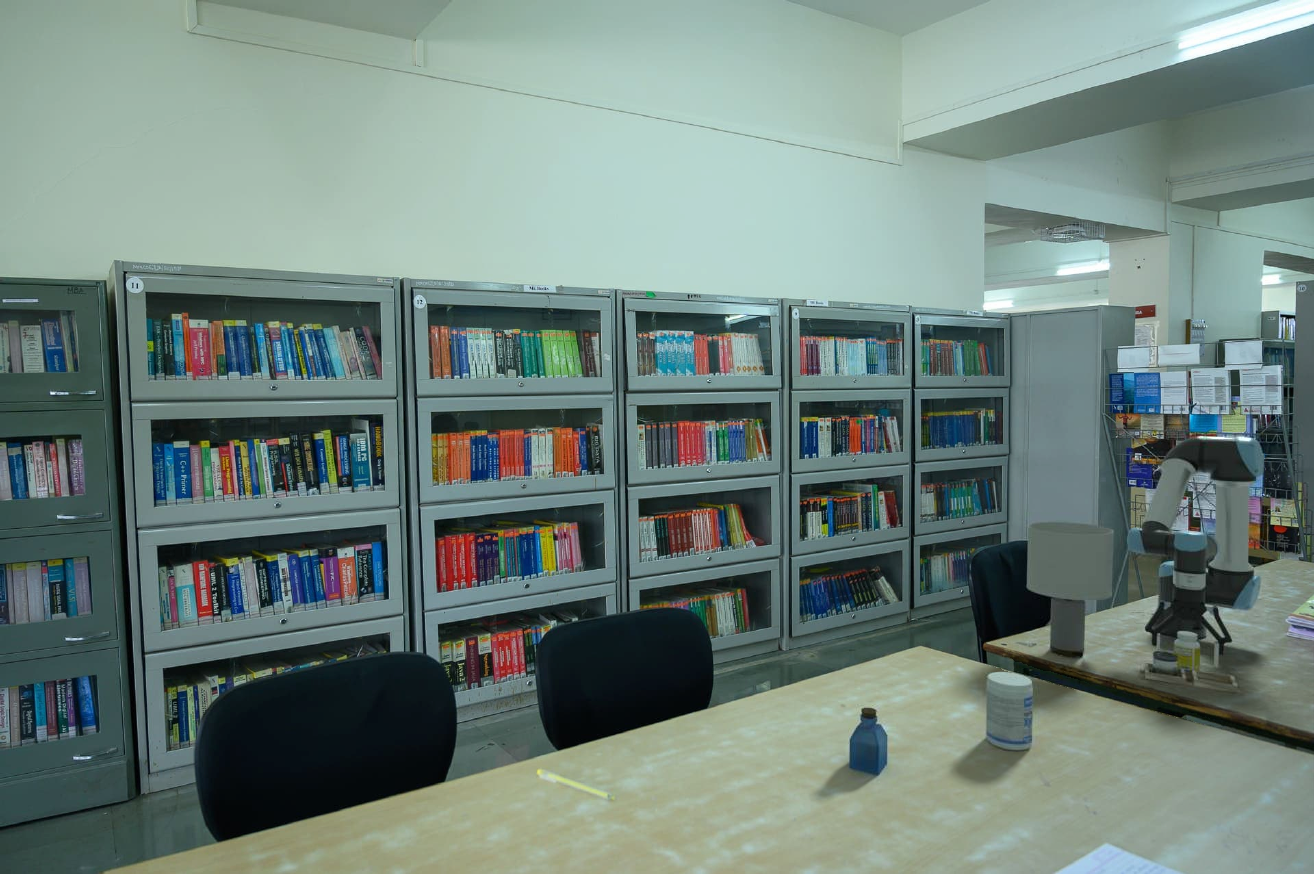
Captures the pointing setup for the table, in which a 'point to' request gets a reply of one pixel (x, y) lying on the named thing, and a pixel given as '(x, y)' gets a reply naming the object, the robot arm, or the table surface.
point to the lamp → (1069, 576)
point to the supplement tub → (1009, 710)
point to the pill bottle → (1187, 651)
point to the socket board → (1194, 679)
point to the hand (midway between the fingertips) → (1186, 661)
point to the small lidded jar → (1165, 663)
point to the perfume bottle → (868, 744)
